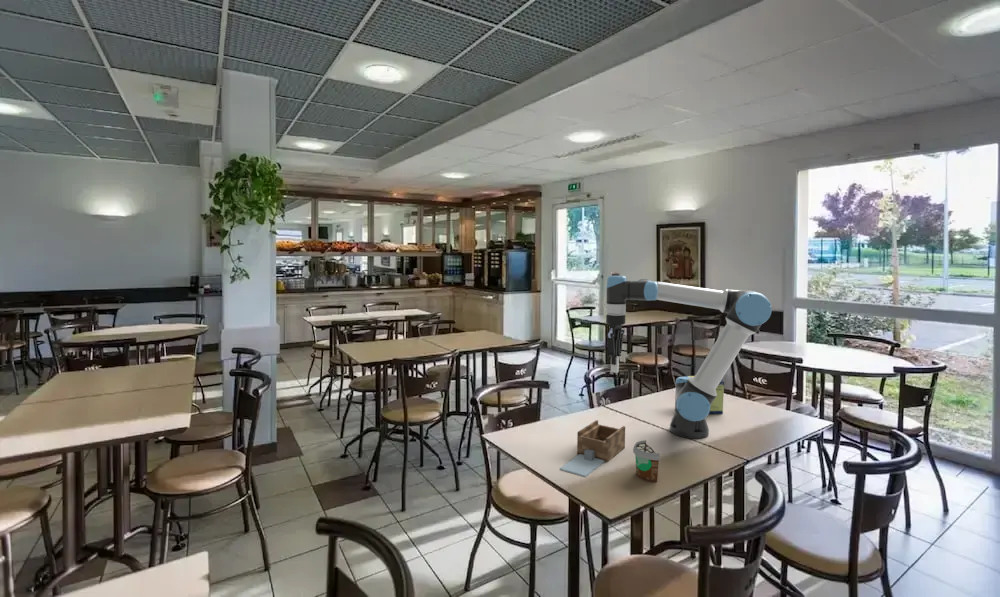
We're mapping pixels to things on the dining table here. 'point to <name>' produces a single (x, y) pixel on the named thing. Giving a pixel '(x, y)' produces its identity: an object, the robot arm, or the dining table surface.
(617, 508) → the dining table surface
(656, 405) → the dining table surface
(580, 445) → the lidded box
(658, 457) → the food container
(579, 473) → the cover plate
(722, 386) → the protein box
